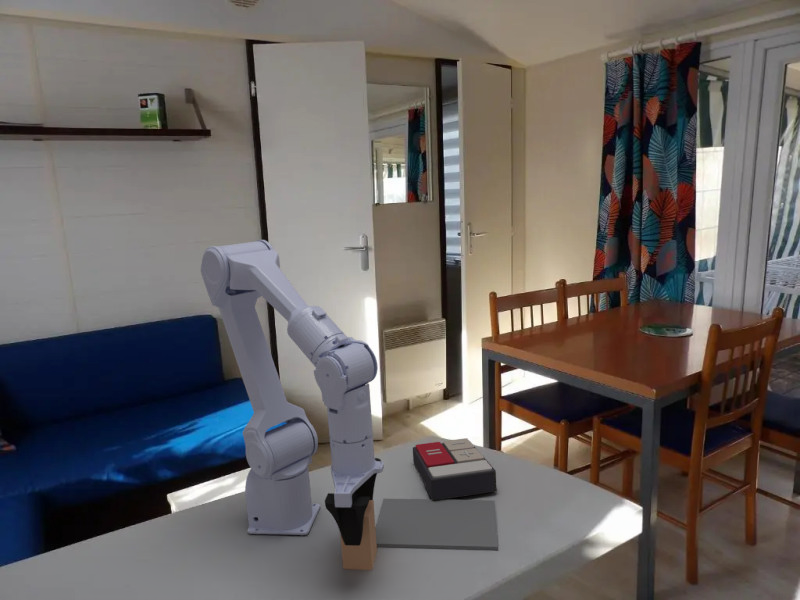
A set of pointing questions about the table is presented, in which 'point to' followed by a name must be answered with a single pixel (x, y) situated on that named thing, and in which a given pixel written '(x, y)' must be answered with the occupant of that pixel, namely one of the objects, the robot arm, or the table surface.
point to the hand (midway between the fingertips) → (358, 526)
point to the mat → (437, 524)
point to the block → (362, 545)
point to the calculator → (453, 469)
